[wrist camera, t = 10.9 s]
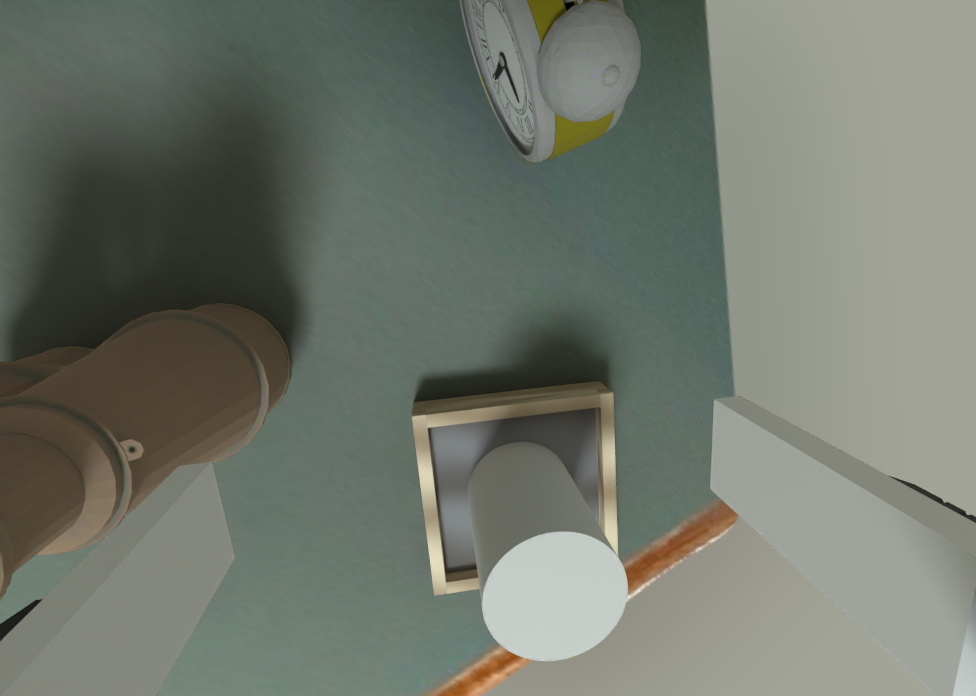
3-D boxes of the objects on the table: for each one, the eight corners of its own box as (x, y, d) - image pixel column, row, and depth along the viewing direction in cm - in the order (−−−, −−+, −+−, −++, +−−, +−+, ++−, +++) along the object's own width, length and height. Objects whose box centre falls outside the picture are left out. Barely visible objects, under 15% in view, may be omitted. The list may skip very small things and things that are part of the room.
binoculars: (266, 281, 35) (-106, 369, 11) (315, 406, 37) (101, 711, 13) (-22, 364, 34) (-1146, 669, 10) (47, 487, 36) (-722, 980, 12)
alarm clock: (447, 13, 33) (459, -170, 18) (539, -28, 33) (625, -242, 18) (513, 181, 36) (571, 139, 21) (598, 143, 36) (714, 75, 21)
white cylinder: (450, 515, 38) (457, 636, 27) (495, 426, 37) (523, 510, 25) (541, 549, 40) (585, 677, 28) (587, 464, 39) (653, 560, 27)
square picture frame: (413, 402, 38) (411, 416, 35) (598, 380, 40) (613, 392, 36) (434, 568, 42) (434, 595, 38) (604, 543, 43) (618, 567, 40)
